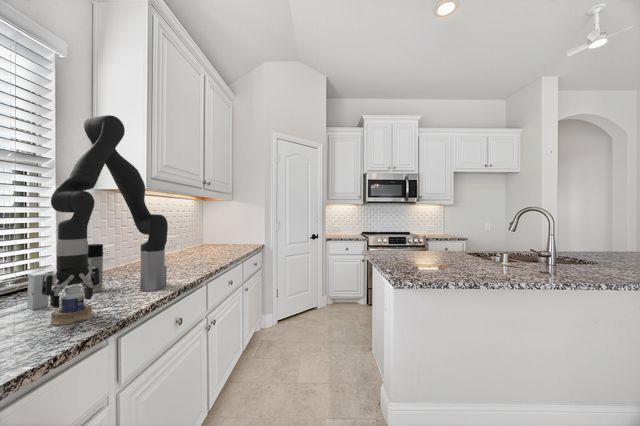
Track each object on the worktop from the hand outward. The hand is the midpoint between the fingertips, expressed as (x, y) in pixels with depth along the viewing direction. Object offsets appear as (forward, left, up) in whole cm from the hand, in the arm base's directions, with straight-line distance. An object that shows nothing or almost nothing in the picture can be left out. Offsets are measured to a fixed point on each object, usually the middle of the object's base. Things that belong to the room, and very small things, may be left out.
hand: (72, 303), depth 89 cm
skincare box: (-2, -24, -5) cm, 25 cm away
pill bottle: (0, 0, -5) cm, 5 cm away
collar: (0, 0, -5) cm, 5 cm away
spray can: (-21, -27, -5) cm, 35 cm away
